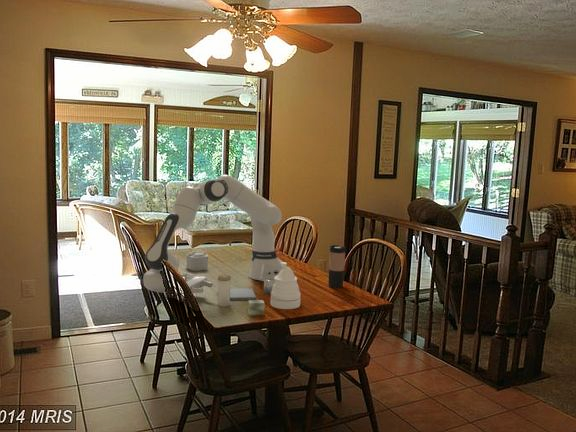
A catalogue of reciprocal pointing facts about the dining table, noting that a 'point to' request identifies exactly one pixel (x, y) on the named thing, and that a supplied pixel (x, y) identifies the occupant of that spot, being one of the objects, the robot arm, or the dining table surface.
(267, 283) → the metal tin
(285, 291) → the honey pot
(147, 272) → the robot arm
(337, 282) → the travel mug
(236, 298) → the serving board
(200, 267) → the lumpy-topped squat cylinder
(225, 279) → the white lidded jar
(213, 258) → the dining table surface
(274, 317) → the dining table surface
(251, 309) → the sage block
